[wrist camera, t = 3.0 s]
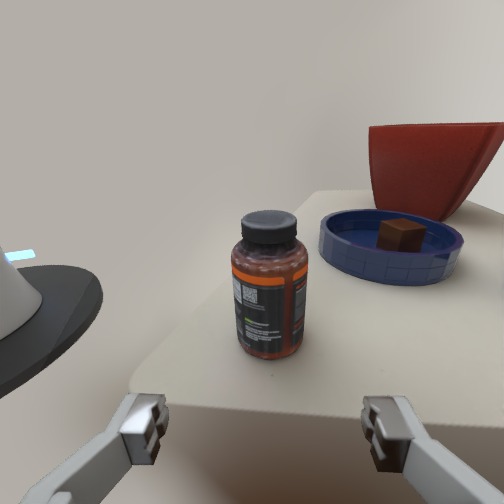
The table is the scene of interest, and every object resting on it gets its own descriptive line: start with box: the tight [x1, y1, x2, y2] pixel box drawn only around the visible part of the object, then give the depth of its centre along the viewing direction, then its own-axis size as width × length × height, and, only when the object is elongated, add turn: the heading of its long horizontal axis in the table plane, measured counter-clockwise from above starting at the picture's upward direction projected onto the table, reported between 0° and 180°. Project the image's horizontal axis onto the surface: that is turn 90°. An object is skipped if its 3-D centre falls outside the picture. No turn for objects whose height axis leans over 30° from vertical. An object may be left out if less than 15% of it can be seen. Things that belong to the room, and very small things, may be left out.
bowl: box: [318, 209, 464, 286], centre depth 36 cm, size 18×18×4 cm
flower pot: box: [369, 122, 504, 221], centre depth 51 cm, size 19×19×17 cm
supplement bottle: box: [231, 210, 308, 359], centre depth 20 cm, size 6×6×11 cm
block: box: [376, 218, 427, 253], centre depth 36 cm, size 4×4×4 cm
